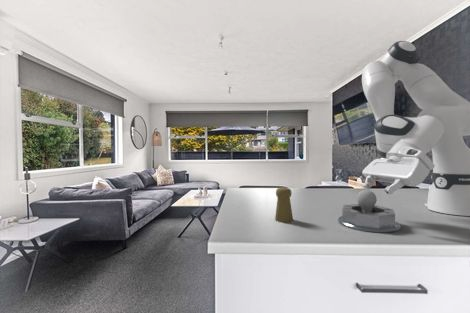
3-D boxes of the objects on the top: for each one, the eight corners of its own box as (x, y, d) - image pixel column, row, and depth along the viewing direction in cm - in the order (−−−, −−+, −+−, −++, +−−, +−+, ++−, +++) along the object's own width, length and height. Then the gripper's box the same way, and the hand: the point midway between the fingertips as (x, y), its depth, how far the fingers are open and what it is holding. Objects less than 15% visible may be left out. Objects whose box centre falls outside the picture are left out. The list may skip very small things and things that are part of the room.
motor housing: (367, 214, 84) (367, 201, 84) (414, 229, 68) (414, 213, 68) (327, 218, 80) (327, 205, 80) (367, 235, 63) (367, 218, 63)
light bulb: (379, 224, 71) (379, 191, 71) (360, 223, 72) (360, 191, 72) (372, 219, 76) (372, 188, 76) (354, 218, 77) (354, 188, 77)
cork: (293, 222, 76) (293, 189, 76) (275, 222, 77) (274, 189, 76) (292, 217, 82) (291, 186, 81) (274, 217, 83) (274, 186, 82)
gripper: (373, 151, 84) (348, 179, 83) (427, 150, 64) (395, 187, 63) (384, 163, 85) (360, 191, 83) (441, 166, 64) (410, 203, 63)
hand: (375, 190), depth 73 cm, fingers open, 8 cm apart
